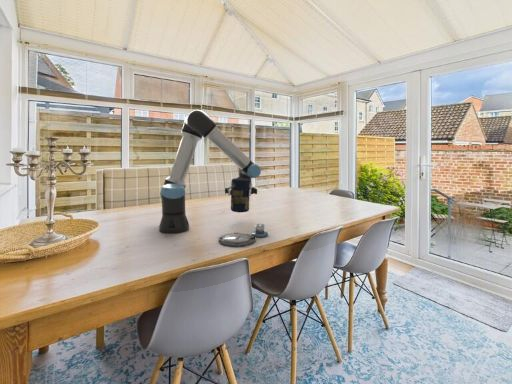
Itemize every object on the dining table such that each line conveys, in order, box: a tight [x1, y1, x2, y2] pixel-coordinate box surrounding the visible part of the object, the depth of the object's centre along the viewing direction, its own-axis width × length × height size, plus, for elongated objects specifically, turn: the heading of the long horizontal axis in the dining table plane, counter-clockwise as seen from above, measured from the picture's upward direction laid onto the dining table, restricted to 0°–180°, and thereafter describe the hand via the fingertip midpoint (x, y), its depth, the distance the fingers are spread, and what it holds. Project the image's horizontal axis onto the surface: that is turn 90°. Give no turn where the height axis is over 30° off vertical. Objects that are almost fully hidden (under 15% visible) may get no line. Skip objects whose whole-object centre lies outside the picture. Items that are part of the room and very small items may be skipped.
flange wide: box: [217, 232, 256, 248], centre depth 134 cm, size 17×17×2 cm
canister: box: [230, 176, 251, 213], centre depth 148 cm, size 10×10×18 cm
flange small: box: [251, 223, 269, 239], centre depth 143 cm, size 8×8×5 cm
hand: (239, 193), depth 145 cm, fingers closed on canister, 10 cm apart
